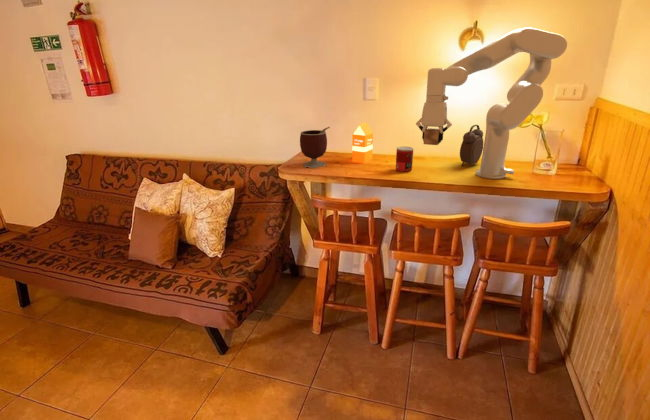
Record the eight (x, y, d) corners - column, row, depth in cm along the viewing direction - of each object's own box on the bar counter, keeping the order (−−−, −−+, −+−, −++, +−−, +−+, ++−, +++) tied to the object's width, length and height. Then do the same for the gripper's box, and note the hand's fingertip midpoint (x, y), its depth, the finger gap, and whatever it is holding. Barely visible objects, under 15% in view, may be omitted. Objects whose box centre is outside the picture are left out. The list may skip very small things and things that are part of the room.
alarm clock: (468, 160, 186) (473, 122, 178) (481, 163, 181) (487, 123, 173) (455, 166, 176) (460, 126, 169) (469, 169, 171) (475, 127, 164)
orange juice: (352, 161, 190) (352, 123, 182) (360, 158, 196) (360, 121, 189) (364, 163, 185) (365, 125, 178) (372, 159, 192) (373, 122, 184)
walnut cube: (440, 142, 158) (441, 128, 155) (437, 145, 153) (438, 131, 151) (427, 141, 161) (428, 128, 158) (423, 144, 156) (424, 130, 154)
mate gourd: (298, 168, 180) (296, 128, 172) (304, 161, 192) (302, 124, 184) (328, 169, 177) (327, 129, 169) (332, 162, 189) (331, 124, 182)
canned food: (407, 173, 167) (409, 150, 163) (392, 170, 172) (393, 148, 167) (414, 169, 173) (416, 147, 168) (399, 167, 177) (401, 145, 173)
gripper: (458, 98, 148) (454, 141, 155) (417, 98, 157) (415, 138, 164) (454, 100, 142) (450, 144, 149) (412, 100, 151) (410, 141, 158)
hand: (432, 141), depth 156 cm, fingers closed on walnut cube, 6 cm apart
